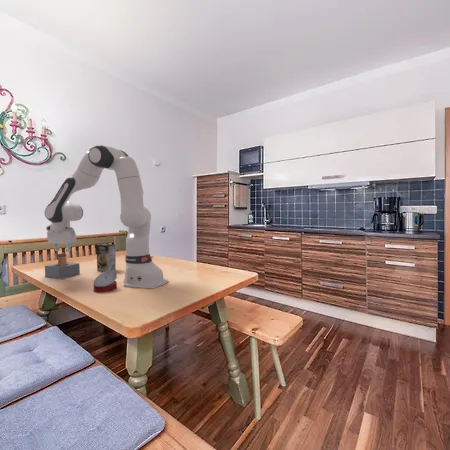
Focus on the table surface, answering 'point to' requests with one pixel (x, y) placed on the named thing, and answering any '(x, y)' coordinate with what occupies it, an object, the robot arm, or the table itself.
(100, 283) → the canned food
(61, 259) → the terracotta peg
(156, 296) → the table surface
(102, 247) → the coffee box
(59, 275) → the socket block
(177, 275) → the table surface
